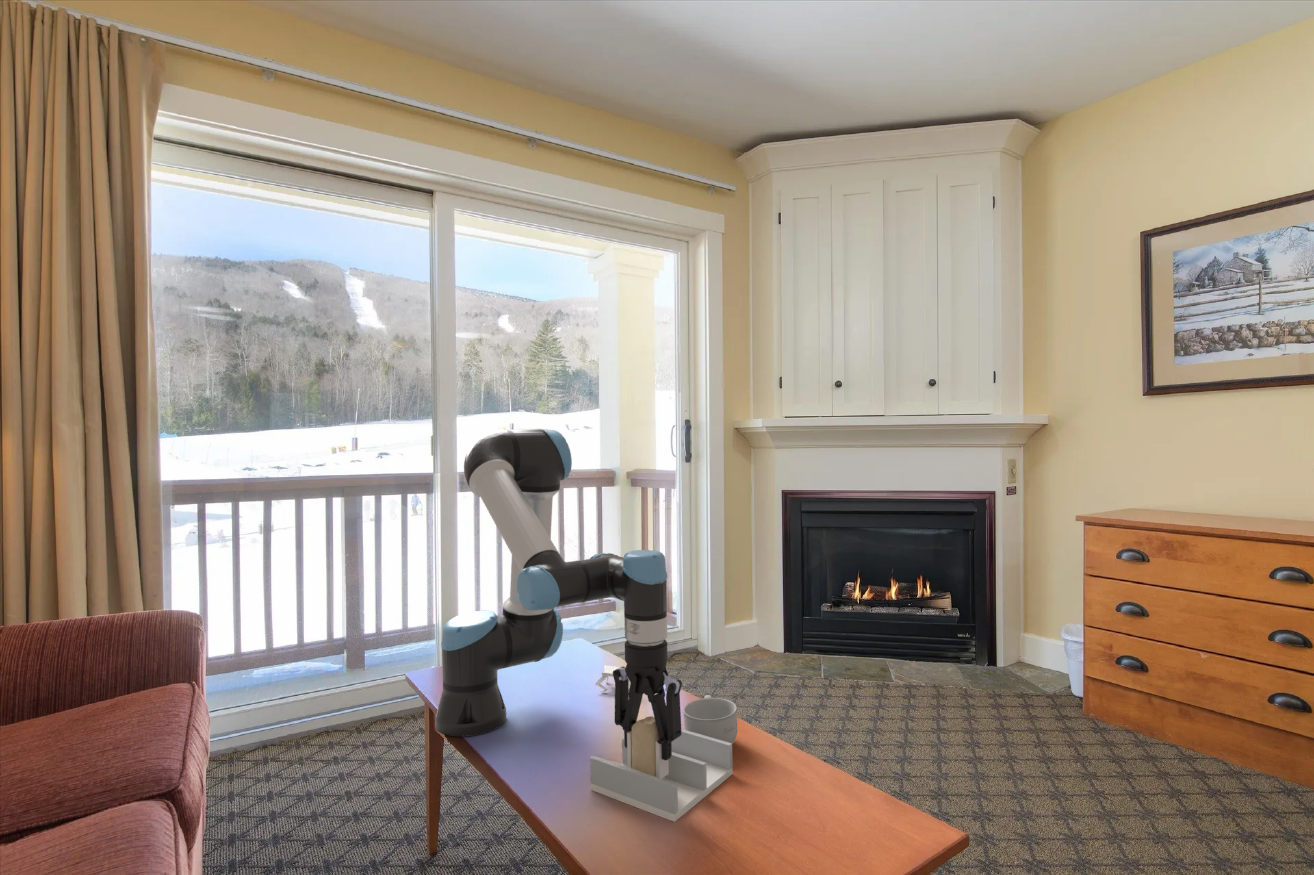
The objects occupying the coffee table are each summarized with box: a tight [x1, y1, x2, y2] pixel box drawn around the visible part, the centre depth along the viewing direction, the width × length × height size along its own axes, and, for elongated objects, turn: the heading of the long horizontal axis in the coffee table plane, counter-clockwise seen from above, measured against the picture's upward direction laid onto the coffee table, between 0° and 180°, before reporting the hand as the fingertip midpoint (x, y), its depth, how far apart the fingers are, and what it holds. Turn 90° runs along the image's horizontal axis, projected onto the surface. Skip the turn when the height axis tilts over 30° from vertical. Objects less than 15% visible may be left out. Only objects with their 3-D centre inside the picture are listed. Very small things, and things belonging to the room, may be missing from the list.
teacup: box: [682, 694, 738, 744], centre depth 142 cm, size 14×11×8 cm
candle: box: [632, 715, 659, 777], centre depth 122 cm, size 6×6×10 cm
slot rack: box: [589, 728, 733, 823], centre depth 126 cm, size 18×19×6 cm
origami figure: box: [594, 664, 631, 695], centre depth 171 cm, size 12×8×5 cm
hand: (647, 771), depth 123 cm, fingers closed on candle, 5 cm apart
